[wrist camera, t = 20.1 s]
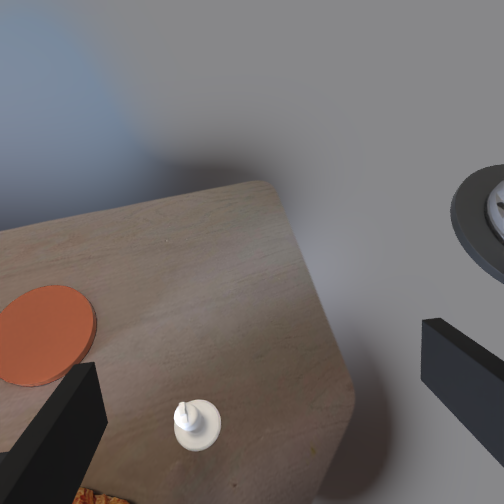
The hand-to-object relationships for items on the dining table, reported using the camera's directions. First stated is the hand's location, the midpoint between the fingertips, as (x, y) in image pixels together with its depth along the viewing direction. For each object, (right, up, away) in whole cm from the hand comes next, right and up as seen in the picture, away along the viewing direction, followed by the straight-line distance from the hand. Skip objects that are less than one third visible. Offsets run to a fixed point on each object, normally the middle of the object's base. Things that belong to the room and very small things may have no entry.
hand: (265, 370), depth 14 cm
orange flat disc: (-25, -5, +29) cm, 39 cm away
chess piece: (-6, -14, +24) cm, 28 cm away
